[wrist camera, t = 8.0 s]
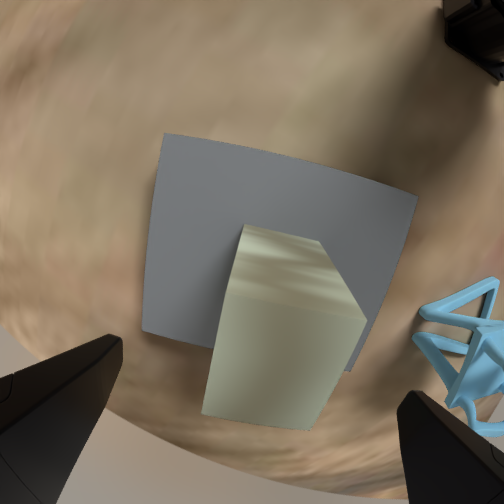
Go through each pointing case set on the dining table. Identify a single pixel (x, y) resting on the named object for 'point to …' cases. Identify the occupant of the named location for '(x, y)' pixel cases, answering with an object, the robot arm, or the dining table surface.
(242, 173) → the grey block
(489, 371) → the light blue lattice frame
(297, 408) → the sage block
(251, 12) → the dining table surface
